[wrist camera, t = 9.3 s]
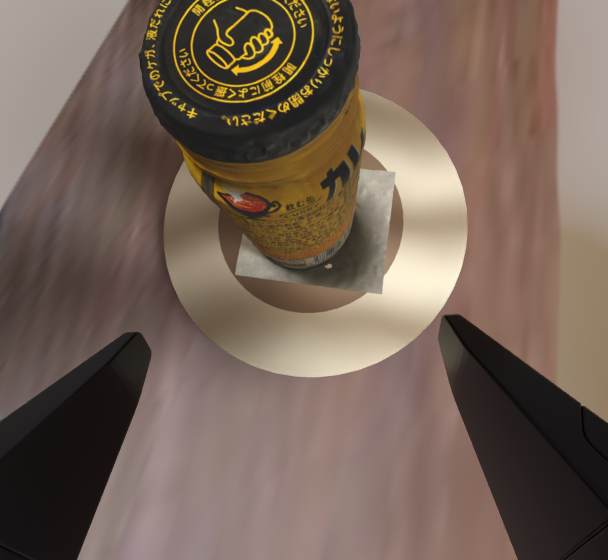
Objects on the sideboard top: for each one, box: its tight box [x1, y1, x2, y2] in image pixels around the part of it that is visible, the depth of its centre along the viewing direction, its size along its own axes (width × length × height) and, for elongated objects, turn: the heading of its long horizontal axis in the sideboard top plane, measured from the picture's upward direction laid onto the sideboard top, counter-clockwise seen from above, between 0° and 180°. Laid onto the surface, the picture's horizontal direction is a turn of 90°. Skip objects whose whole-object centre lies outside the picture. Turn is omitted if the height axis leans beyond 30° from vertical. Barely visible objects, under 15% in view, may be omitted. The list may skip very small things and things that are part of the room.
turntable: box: [163, 89, 468, 377], centre depth 19 cm, size 18×18×2 cm
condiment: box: [139, 0, 396, 294], centre depth 13 cm, size 7×8×12 cm
